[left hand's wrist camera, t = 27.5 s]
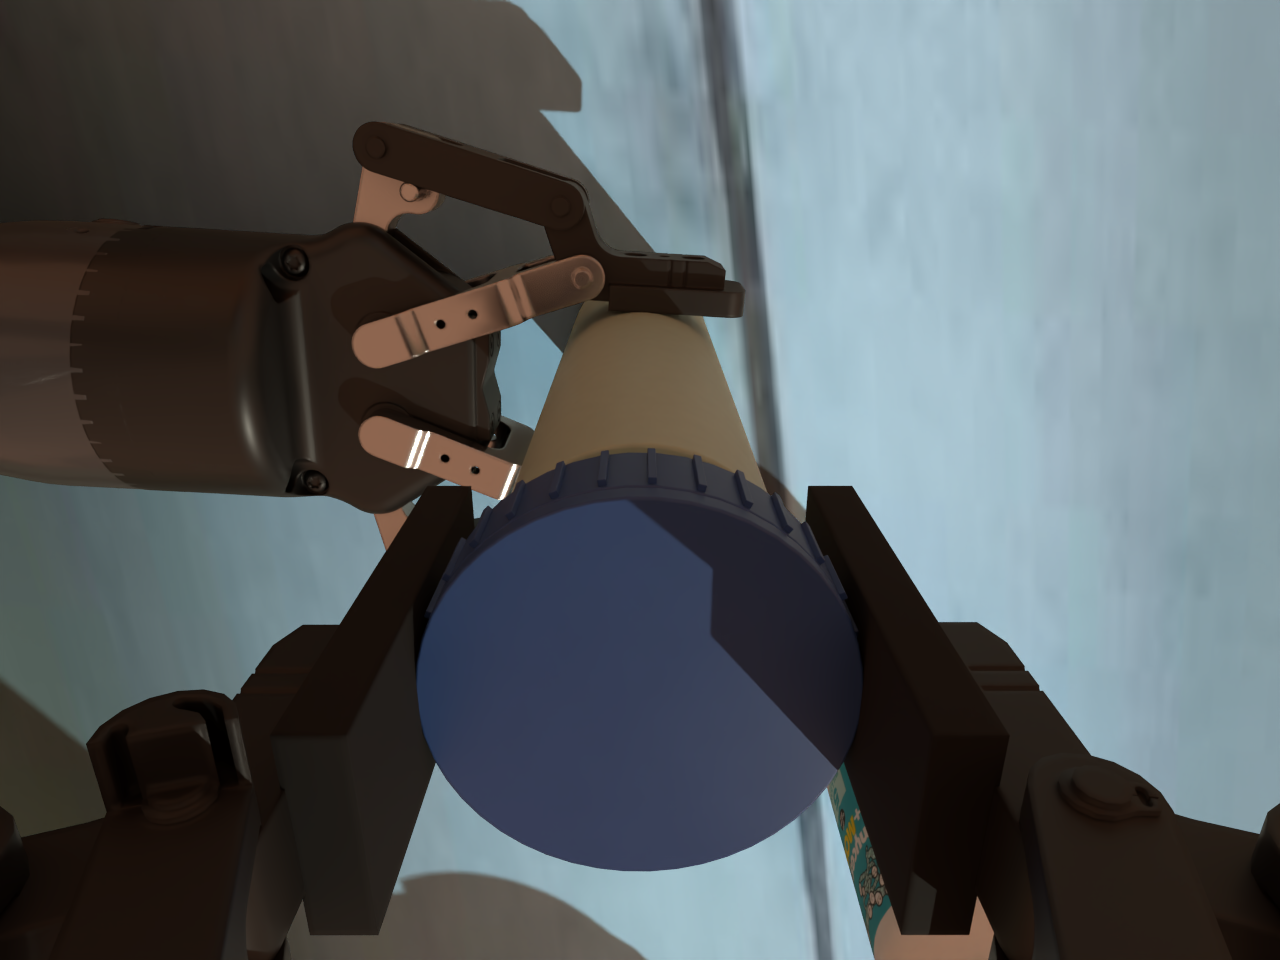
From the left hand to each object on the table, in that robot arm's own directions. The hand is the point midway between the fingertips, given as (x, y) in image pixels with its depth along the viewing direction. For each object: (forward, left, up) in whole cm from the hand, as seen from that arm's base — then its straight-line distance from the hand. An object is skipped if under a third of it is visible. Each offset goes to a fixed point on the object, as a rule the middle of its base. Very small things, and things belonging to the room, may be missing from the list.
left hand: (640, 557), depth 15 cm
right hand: (-2, -1, -10) cm, 11 cm away
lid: (0, 0, +4) cm, 4 cm away
